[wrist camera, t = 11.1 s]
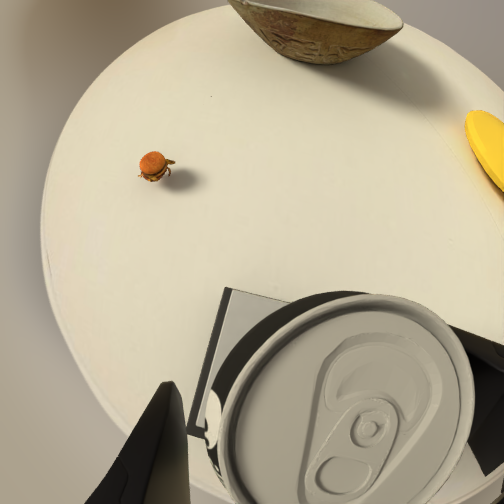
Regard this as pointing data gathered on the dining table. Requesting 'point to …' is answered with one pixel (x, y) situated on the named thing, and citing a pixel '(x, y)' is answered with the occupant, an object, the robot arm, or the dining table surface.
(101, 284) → the dining table surface
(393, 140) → the dining table surface
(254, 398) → the beverage can
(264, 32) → the bowl
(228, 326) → the scale
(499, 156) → the vase
